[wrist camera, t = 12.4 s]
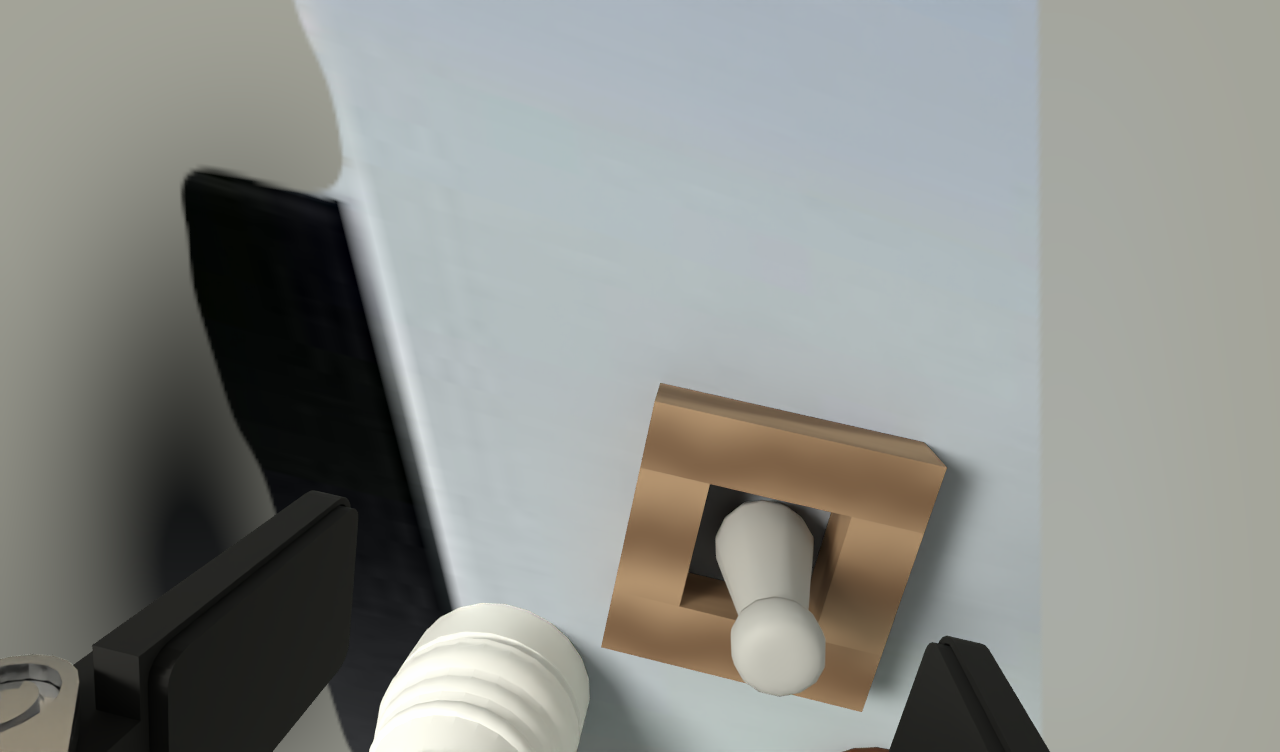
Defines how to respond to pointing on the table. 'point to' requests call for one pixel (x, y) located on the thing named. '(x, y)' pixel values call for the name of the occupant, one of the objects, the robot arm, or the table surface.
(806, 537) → the salt shaker
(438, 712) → the honey pot
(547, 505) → the table surface
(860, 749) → the food container
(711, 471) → the brown wooden square frame
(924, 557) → the table surface
